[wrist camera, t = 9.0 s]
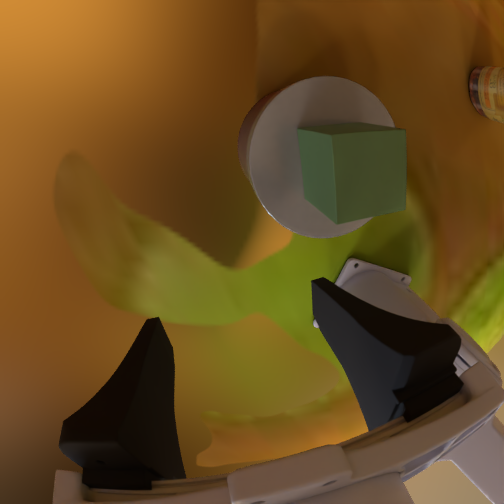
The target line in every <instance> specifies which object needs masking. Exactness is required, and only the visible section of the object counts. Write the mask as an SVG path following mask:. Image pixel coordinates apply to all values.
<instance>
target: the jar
mask: <svg viewBox="0 0 504 504" xmlns="http://www.w3.org/2000/svg"><path fill="white" fill-rule="evenodd" d="M358 122H363V123H370V124H377V125H383V126H389V127H395V125H394V122H393V120H392V118H391V116H390V114H389V112H388V111H387V109H386V108H385V106H384V105H383V104H382V103H381V101H380V100H379V99H378V98H377V97H376V96H375V95H374V94H373V93H372V92H370V91H369V90H368V89H366V88H365V87H363V86H361V85H360V84H358V83H356V82H354V81H351V80H348V79H345V78H341V77H336V76H318V77H311V78H307V79H303V80H300V81H297V82H294V83H292V84H290V85H288V86H286V87H284V88H283V89H281V90H278V91H275V92H273V93H271V94H268V95H267V96H265V97H264V98H262V99H261V100H260V101H258V102H257V103H256V104H255V105H254V106H253V107H252V108H251V110H250V111H249V112H248V114H247V115H246V117H245V119H244V121H243V124H242V126H241V129H240V132H239V138H238V155H239V160H240V164H241V167H242V170H243V172H244V174H245V175H246V177H247V179H248V180H249V182H250V183H251V185H252V188H253V190H254V192H255V194H256V196H257V198H258V200H259V201H260V203H261V204H262V205H263V207H264V208H265V209H266V211H267V212H268V213H269V214H270V215H271V216H272V217H273V218H274V219H275V220H276V221H277V222H278V223H279V224H281V225H282V226H283V227H285V228H287V229H289V230H290V231H292V232H295V233H297V234H300V235H303V236H307V237H314V238H331V237H336V236H340V235H344V234H347V233H349V232H352V231H354V230H356V229H358V228H359V227H361V226H362V225H364V224H365V223H367V222H368V221H369V220H370V219H372V218H373V217H370V218H366V219H361V220H357V221H352V222H348V223H343V224H339V225H336V224H335V223H334V222H332V221H331V220H330V219H329V218H328V217H326V216H325V215H324V214H323V213H322V212H320V211H319V210H318V209H317V208H316V207H314V206H313V205H312V204H311V203H309V202H308V201H307V200H306V199H305V196H304V185H303V176H302V166H301V158H300V149H299V141H298V133H297V128H302V127H310V126H320V125H331V124H343V123H358Z"/></svg>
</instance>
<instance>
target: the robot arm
mask: <svg viewBox="0 0 504 504" xmlns="http://www.w3.org/2000/svg"><path fill="white" fill-rule="evenodd" d="M356 263H357V264H356ZM355 264H356V265H355ZM354 265H355V266H354ZM410 282H411V277H410V276H409V275H406V274H403V273H400V272H397V271H393V270H390V269H387V268H384V267H381V266H378V265H375V264H371V263H368V262H365V261H362V260H359V259H355V258H349V259H348V260H347V262H346V264H345V266H344V267H343V269H342V271H341V273H340V275H339V277H338V279H337V281H336V282H335V284H334V283H332V282H331V281H329V280H327V279H326V278H324V277H322V278H319V279H315V280H311V283H312V305H313V315H314V317H315V320H314V322H313V325H314V326H315V327H316V328H319V329H320V331H321V332H322V334H323V336H324V337H325V339H326V341H327V342H328V344H329V346H330V347H331V349H332V350H333V352H334V354H335V355H336V357H337V358H338V360H339V362H340V363H341V365H342V367H343V369H344V370H345V373H346V375H347V377H348V379H349V381H350V383H351V386H352V388H353V390H354V393H355V395H356V397H357V400H358V402H359V405H360V408H361V410H362V413H363V415H364V418H365V421H366V424H367V427H368V430H369V432H366V433H364V434H361V435H359V436H357V437H354V438H352V439H349V440H347V441H344V442H341V443H339V444H336V445H325V446H321V447H317V448H313V449H310V450H307V451H304V452H301V453H297V454H294V455H290V456H287V457H283V458H279V459H275V460H271V461H268V462H263V463H259V464H254V465H250V466H246V467H243V468H239V469H237V470H235V471H233V472H231V473H227V474H220V475H214V476H206V477H198V478H189V479H187V478H186V474H185V471H184V466H183V462H182V457H181V453H180V447H179V442H178V436H177V429H176V422H175V414H174V380H175V379H174V378H175V364H174V354H173V347H172V345H171V343H170V341H169V338H168V337H167V334H166V332H165V330H164V327H163V325H162V323H161V321H160V318H159V317H156V318H151V319H147V320H146V322H145V323H144V325H143V327H142V329H141V331H140V332H139V334H138V336H137V338H136V339H135V341H134V343H133V344H132V346H131V348H130V350H129V351H128V353H127V355H126V356H125V358H124V360H123V361H122V362H121V364H120V366H119V367H118V369H117V370H116V371H115V372H114V374H113V375H112V376H111V378H110V379H109V380H108V382H107V383H106V384H105V385H104V386H103V387H102V388H101V389H100V390H99V392H97V393H96V395H95V396H94V397H93V398H91V399H90V400H89V401H88V402H87V403H86V404H85V405H84V406H83V407H81V408H80V409H79V410H78V411H77V412H75V413H74V414H72V415H71V416H70V417H68V418H67V419H66V420H64V421H63V426H62V430H61V436H60V441H59V448H60V450H61V451H62V452H63V454H65V455H66V456H67V457H68V458H70V459H71V460H72V461H74V462H75V463H77V464H78V465H79V466H81V467H82V468H83V474H81V473H78V472H74V471H66V470H56V476H55V484H54V495H53V496H54V497H53V504H414V502H413V500H412V498H411V496H410V494H409V493H408V491H407V489H406V487H405V485H404V483H403V482H405V481H407V480H408V479H410V478H412V477H413V476H415V475H417V474H418V473H420V472H421V471H423V470H425V469H426V468H428V467H429V466H431V465H432V464H434V463H435V462H437V461H445V460H451V461H452V462H453V463H454V464H455V465H456V466H457V467H458V468H459V469H460V470H461V471H462V472H463V473H464V474H465V475H466V476H467V477H468V478H469V479H470V480H471V481H472V483H473V484H474V485H476V486H477V488H478V489H479V490H480V491H481V492H482V493H483V494H484V495H485V496H486V497H487V498H488V499H489V500H490V501H491V502H492V503H493V504H504V425H503V424H502V423H501V422H500V421H499V420H498V418H497V417H496V416H495V413H496V412H497V410H498V409H499V408H500V407H501V405H502V404H503V403H504V390H503V388H502V379H501V377H500V371H499V370H498V368H497V367H496V365H495V364H494V363H493V362H492V361H491V360H490V359H489V357H488V355H487V354H486V353H485V352H484V351H483V349H482V348H481V347H480V346H479V345H478V344H477V343H476V342H475V341H474V340H473V339H472V338H471V337H470V336H469V335H468V334H467V333H466V332H465V331H464V330H463V329H462V328H461V327H460V326H458V325H457V324H456V323H455V322H454V321H452V320H451V319H449V318H442V319H441V318H439V316H438V315H437V314H436V313H435V312H434V311H433V310H432V309H431V308H430V307H429V306H428V305H427V304H426V303H425V302H424V301H423V300H422V299H421V298H420V297H419V296H418V295H417V294H416V293H415V292H414V291H413V290H412V289H411V288H409V287H408V285H409V284H410Z"/></svg>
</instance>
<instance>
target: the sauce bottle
mask: <svg viewBox="0 0 504 504" xmlns="http://www.w3.org/2000/svg"><path fill="white" fill-rule="evenodd" d="M469 85H470V87H469V88H470V98H471V101H472V103H473V105H474V106H475V108H476V110H477V111H478V112H479V114H481V115H482V116H485V117H488V118H489V119H491V120H494V121H498V122H501V123H504V68H501V67H494V66H486V67H476V68H475V69H474V70H473V71H472V73H471V74H470V78H469Z"/></svg>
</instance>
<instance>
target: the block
mask: <svg viewBox="0 0 504 504" xmlns="http://www.w3.org/2000/svg"><path fill="white" fill-rule="evenodd" d="M297 133H298V141H299V149H300V158H301V166H302V176H303V185H304V196H305V199H306V200H307V201H308V202H309V203H311V204H312V205H313V206H314V207H316V208H317V209H318V210H319V211H320V212H322V213H323V214H324V215H325V216H326V217H328V218H329V219H330V220H331V221H332V222H334V223H335V224H336V225H339V224H343V223H348V222H352V221H357V220H361V219H366V218H370V217H375V216H379V215H384V214H388V213H393V212H397V211H402V210H405V208H406V180H407V154H406V130H405V129H400V128H395V127H389V126H383V125H377V124H370V123H363V122H358V123H343V124H331V125H320V126H310V127H302V128H297Z"/></svg>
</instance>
